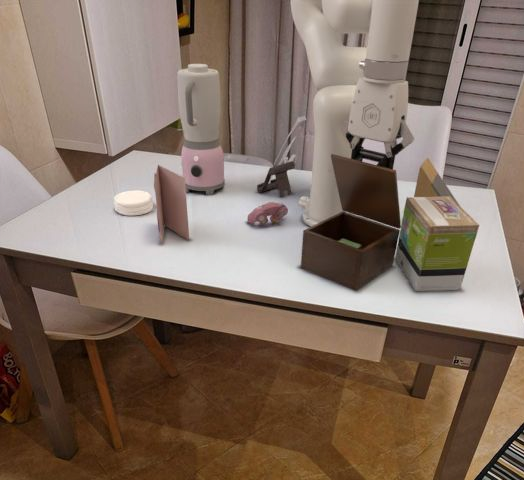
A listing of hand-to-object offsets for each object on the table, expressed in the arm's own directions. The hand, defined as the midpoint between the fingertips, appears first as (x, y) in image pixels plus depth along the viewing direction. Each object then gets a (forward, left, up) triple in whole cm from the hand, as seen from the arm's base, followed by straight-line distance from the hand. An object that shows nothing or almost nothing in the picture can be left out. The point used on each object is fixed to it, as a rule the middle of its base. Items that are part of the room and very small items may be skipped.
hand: (370, 171), depth 100 cm
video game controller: (-29, +2, -20) cm, 35 cm away
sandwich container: (+4, +33, -20) cm, 39 cm away
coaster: (-61, -16, -20) cm, 66 cm away
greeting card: (-41, -19, -20) cm, 49 cm away
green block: (0, -6, -19) cm, 20 cm away
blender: (-59, +7, -20) cm, 62 cm away
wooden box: (0, -4, -20) cm, 20 cm away
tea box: (+14, +5, -20) cm, 25 cm away
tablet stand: (-42, +21, -20) cm, 51 cm away
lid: (0, -1, -4) cm, 4 cm away
